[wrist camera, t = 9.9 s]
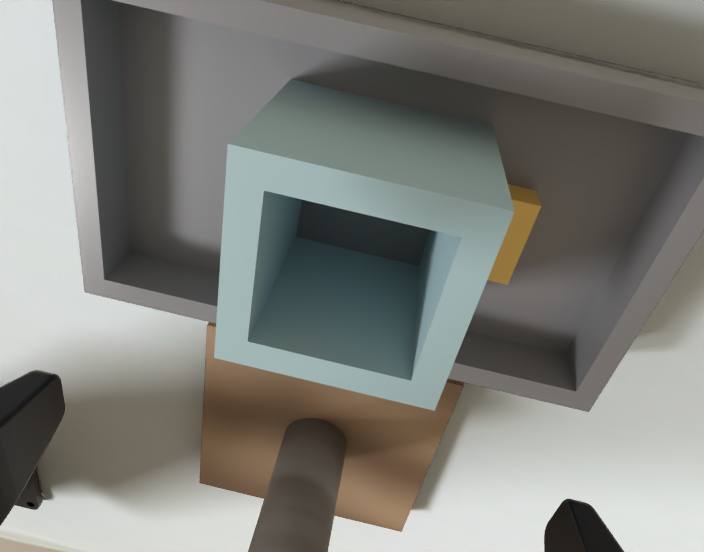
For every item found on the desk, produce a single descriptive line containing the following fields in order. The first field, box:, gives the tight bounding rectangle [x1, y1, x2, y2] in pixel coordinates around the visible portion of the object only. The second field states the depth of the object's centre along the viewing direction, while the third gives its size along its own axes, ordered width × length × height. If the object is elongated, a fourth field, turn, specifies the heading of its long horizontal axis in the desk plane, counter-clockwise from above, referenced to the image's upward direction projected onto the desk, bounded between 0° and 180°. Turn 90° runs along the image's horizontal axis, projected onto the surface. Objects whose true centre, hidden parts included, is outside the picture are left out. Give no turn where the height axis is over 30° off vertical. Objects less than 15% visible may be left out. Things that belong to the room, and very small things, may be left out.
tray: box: [52, 0, 704, 412], centre depth 18 cm, size 11×19×3 cm, turn 79°
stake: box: [200, 322, 463, 552], centre depth 23 cm, size 11×11×8 cm
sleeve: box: [214, 79, 541, 411], centre depth 16 cm, size 8×6×6 cm
